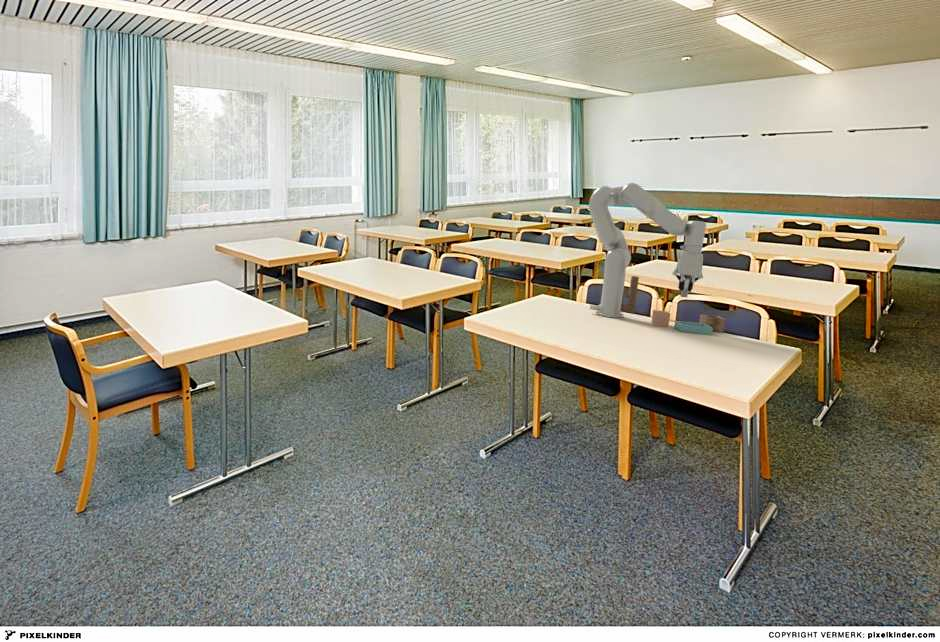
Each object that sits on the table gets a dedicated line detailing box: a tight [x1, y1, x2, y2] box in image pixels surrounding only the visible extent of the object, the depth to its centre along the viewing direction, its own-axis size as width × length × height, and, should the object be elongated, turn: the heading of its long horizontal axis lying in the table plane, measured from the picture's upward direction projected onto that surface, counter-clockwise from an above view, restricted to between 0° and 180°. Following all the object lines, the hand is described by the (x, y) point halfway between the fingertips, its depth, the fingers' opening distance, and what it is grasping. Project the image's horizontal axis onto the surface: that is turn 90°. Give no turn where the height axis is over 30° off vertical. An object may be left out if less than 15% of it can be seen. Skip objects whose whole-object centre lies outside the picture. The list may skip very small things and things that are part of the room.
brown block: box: [698, 314, 726, 334], centre depth 256 cm, size 8×8×6 cm
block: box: [651, 309, 671, 328], centre depth 258 cm, size 6×6×6 cm
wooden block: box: [621, 275, 640, 314], centre depth 291 cm, size 4×11×18 cm, turn 52°
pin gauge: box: [679, 275, 691, 298], centre depth 257 cm, size 3×3×10 cm
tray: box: [673, 320, 713, 335], centre depth 249 cm, size 13×10×3 cm
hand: (684, 290), depth 258 cm, fingers closed on pin gauge, 3 cm apart
